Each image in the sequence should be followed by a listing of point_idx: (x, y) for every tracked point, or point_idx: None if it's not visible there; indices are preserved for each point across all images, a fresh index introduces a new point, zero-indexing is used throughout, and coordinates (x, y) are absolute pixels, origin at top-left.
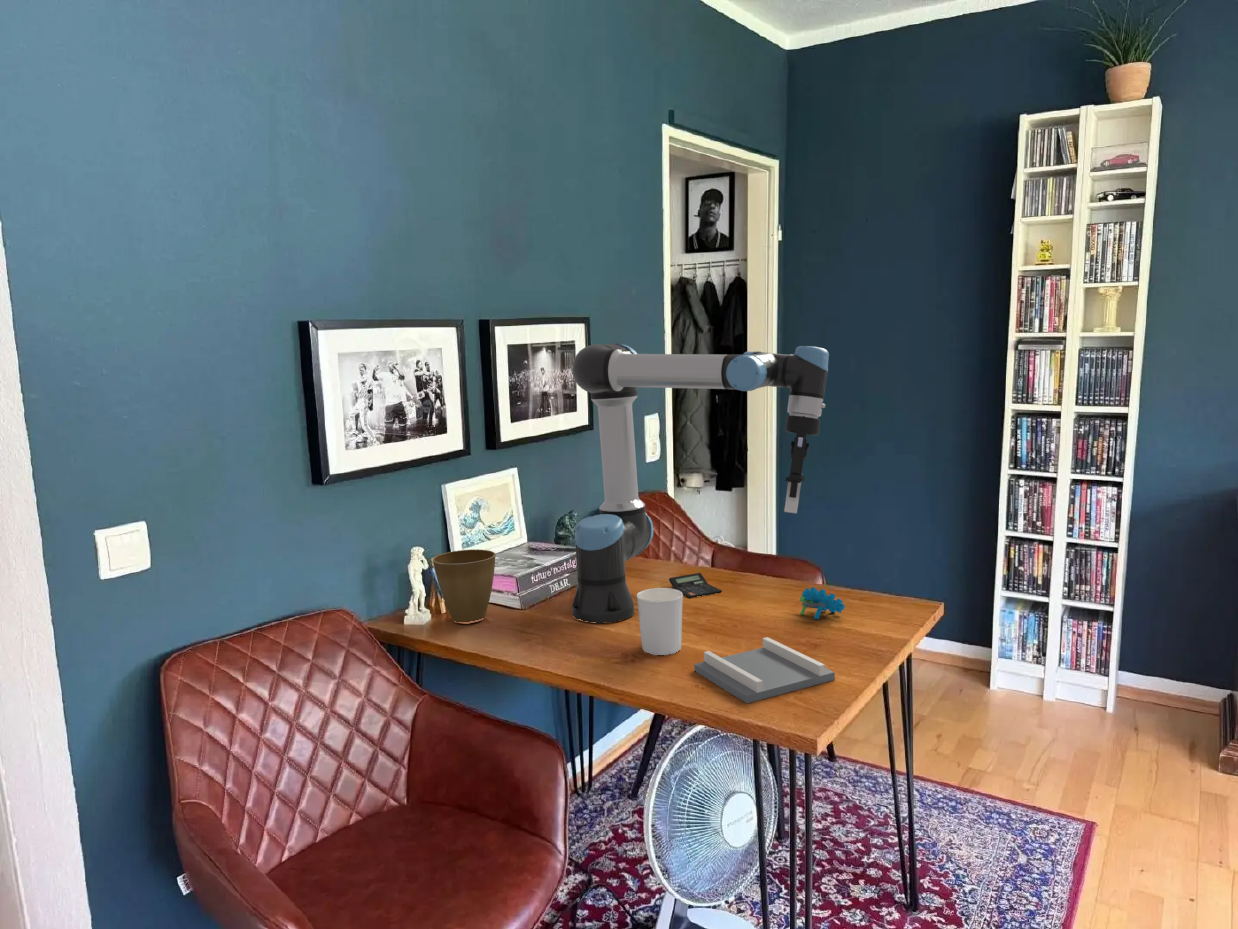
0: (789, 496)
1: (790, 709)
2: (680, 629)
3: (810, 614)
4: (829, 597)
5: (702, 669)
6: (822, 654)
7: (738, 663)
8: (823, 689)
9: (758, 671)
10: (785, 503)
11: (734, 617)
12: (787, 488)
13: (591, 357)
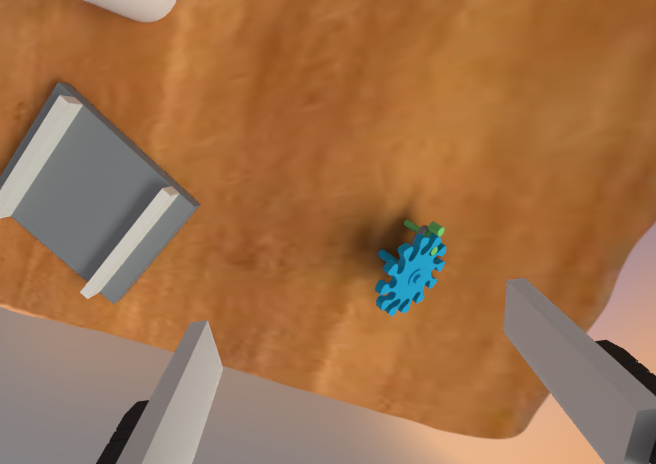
0: (135, 405)
1: (11, 252)
2: (114, 11)
3: None
4: (382, 296)
5: (45, 103)
6: (210, 276)
7: (89, 159)
8: None
9: (73, 197)
10: (176, 352)
11: (367, 83)
12: (134, 429)
13: None
